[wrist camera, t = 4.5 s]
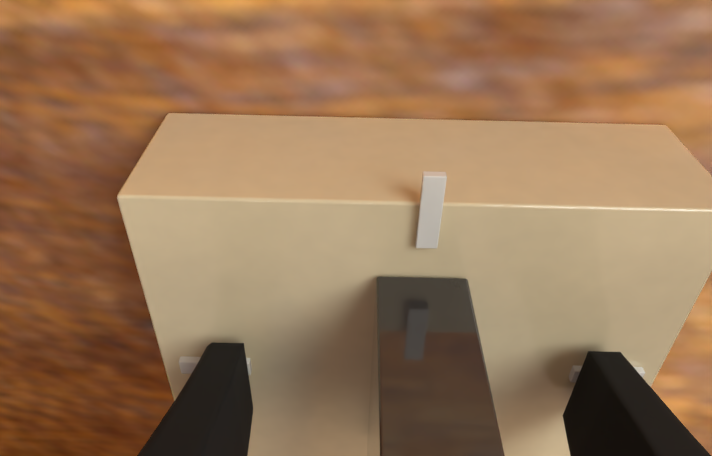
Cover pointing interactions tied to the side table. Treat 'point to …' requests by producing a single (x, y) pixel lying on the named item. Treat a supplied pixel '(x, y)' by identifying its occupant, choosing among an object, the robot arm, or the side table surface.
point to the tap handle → (429, 372)
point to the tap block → (413, 255)
